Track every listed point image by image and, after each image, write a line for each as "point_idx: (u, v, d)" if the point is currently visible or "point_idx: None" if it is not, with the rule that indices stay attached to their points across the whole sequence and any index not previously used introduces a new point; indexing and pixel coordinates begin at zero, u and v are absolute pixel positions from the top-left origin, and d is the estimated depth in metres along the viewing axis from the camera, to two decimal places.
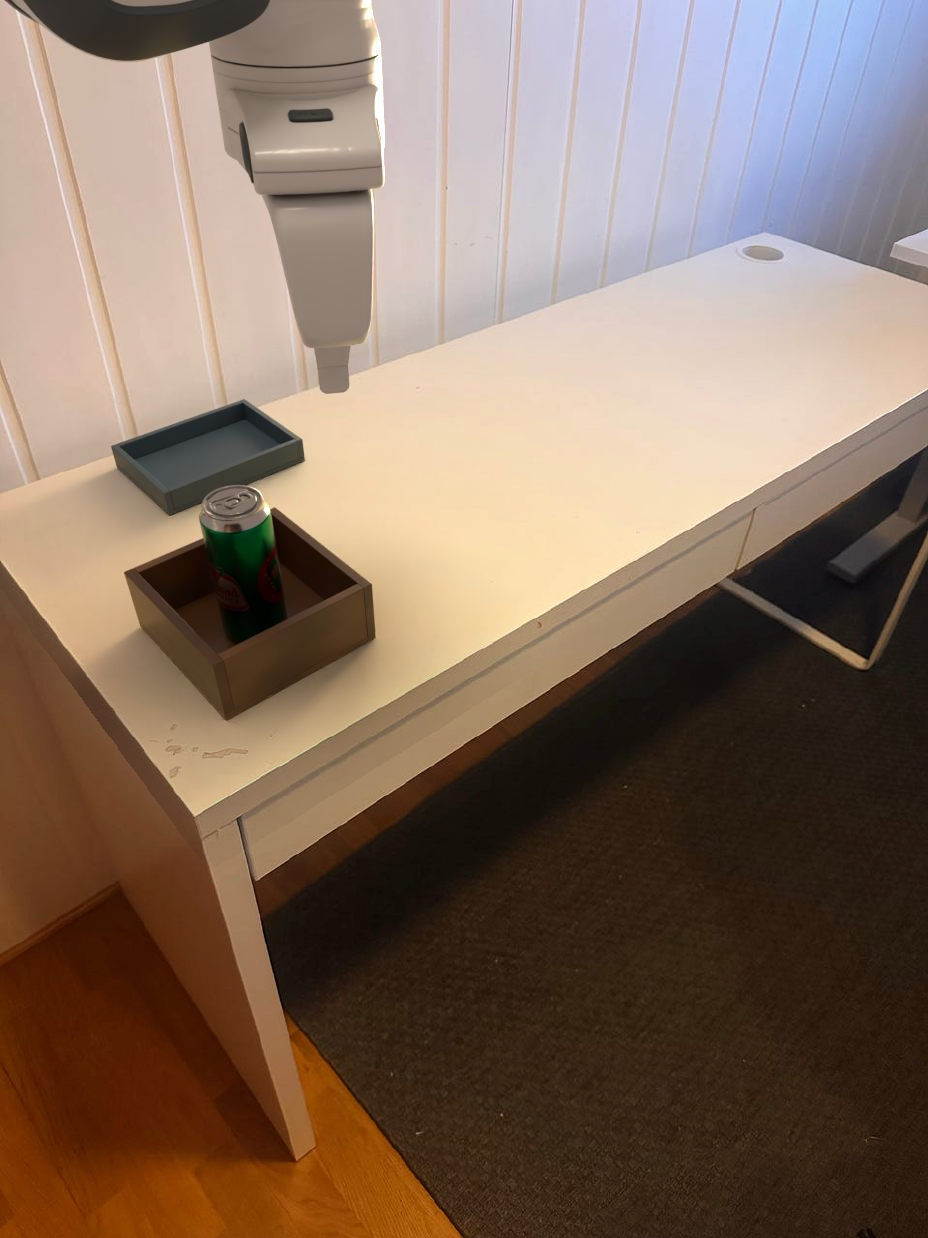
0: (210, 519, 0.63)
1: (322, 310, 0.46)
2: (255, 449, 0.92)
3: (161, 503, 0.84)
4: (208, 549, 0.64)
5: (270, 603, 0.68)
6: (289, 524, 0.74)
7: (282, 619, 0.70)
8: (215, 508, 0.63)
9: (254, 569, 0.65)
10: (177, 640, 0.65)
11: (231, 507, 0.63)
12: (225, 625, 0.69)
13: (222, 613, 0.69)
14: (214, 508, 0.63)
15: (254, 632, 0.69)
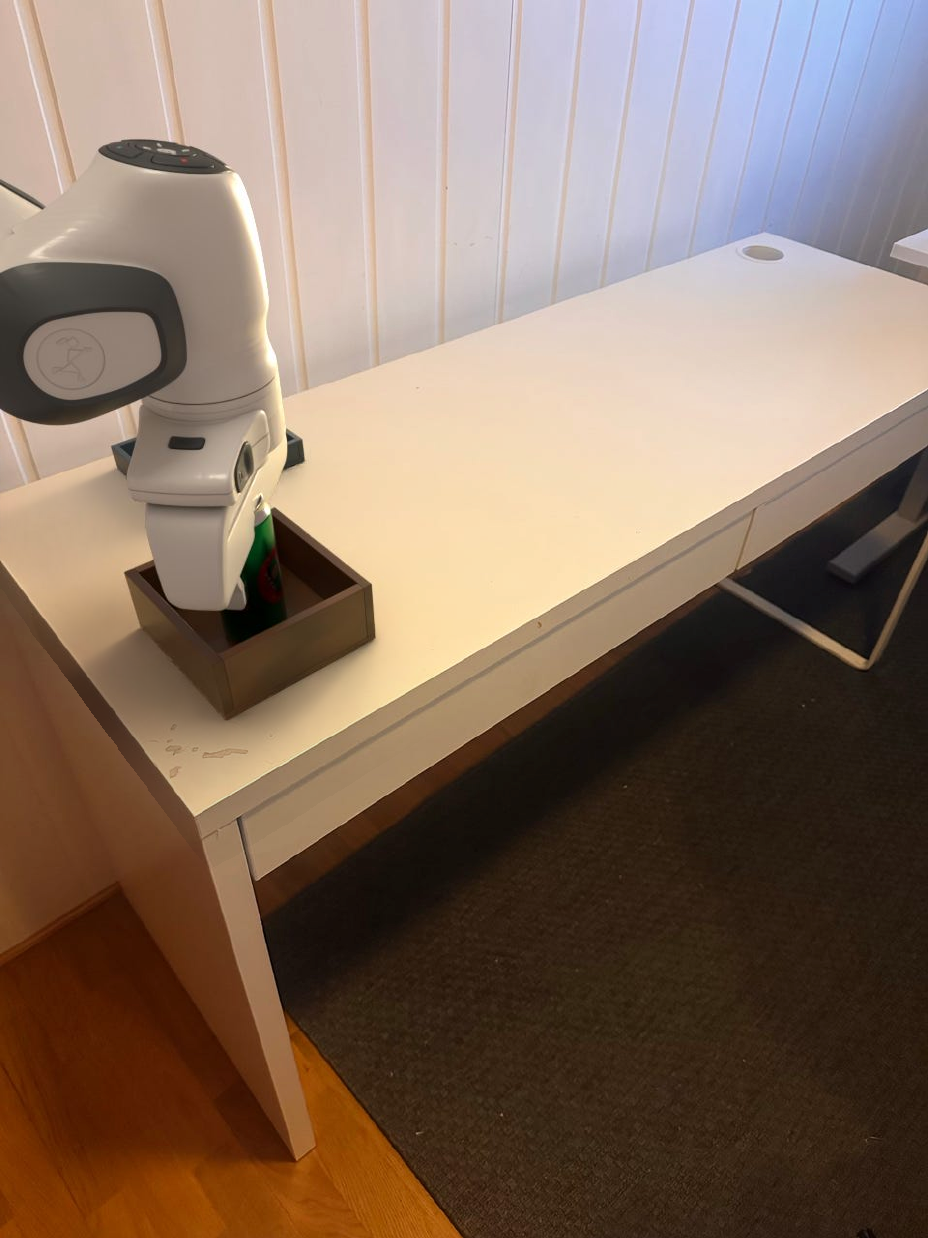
0: None
1: (181, 588, 0.56)
2: None
3: None
4: None
5: (270, 603, 0.68)
6: (289, 524, 0.74)
7: (282, 619, 0.70)
8: None
9: (254, 569, 0.65)
10: (177, 640, 0.65)
11: None
12: (225, 625, 0.69)
13: (222, 613, 0.69)
14: None
15: (254, 632, 0.69)
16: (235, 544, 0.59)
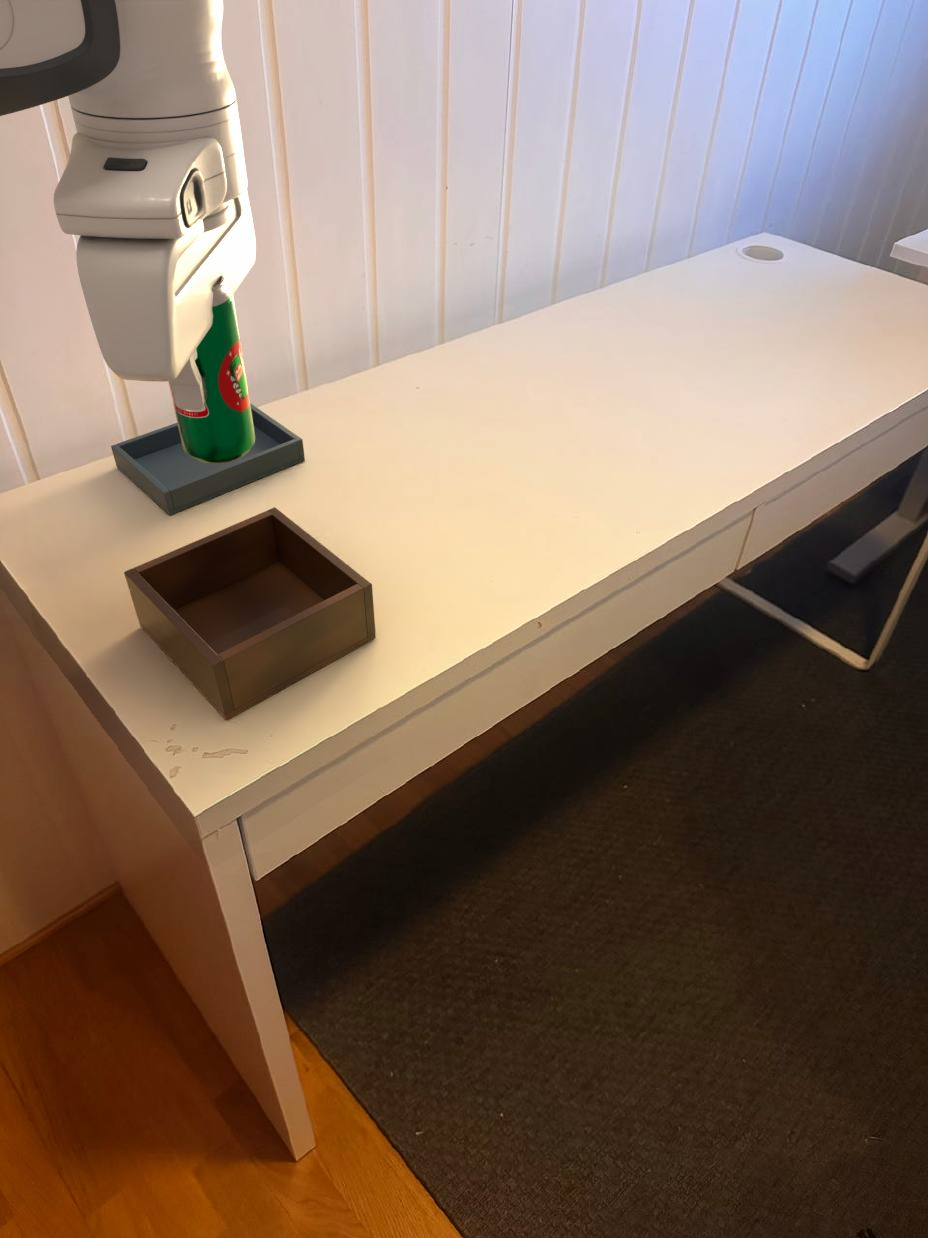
0: None
1: (121, 346, 0.48)
2: (255, 449, 0.92)
3: (161, 503, 0.84)
4: None
5: (234, 411, 0.60)
6: (289, 524, 0.74)
7: (249, 436, 0.62)
8: None
9: (214, 362, 0.57)
10: (177, 640, 0.65)
11: None
12: (184, 440, 0.61)
13: (180, 424, 0.61)
14: None
15: (216, 447, 0.61)
16: (186, 308, 0.51)
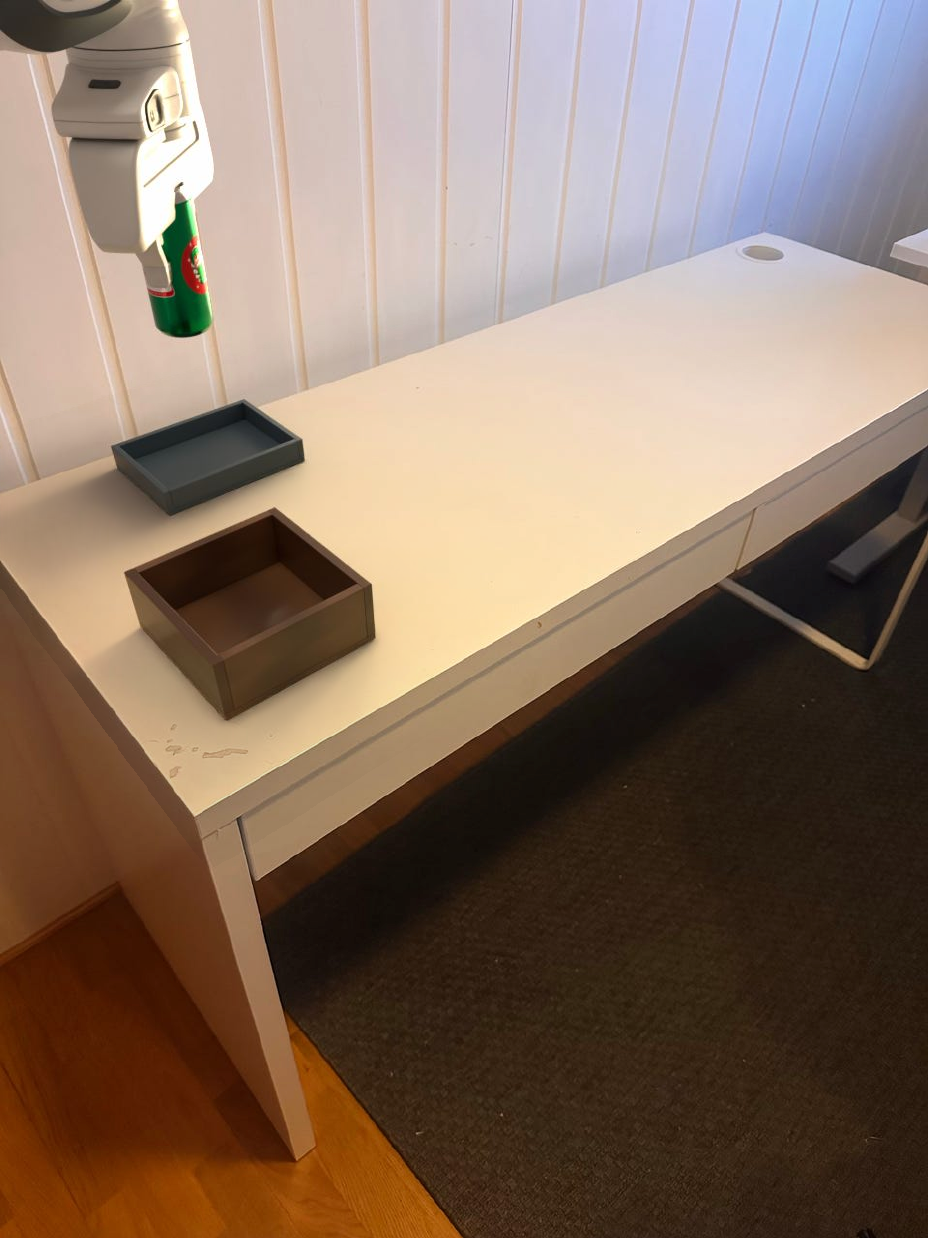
0: None
1: (102, 223, 0.64)
2: (255, 449, 0.92)
3: (161, 503, 0.84)
4: None
5: (195, 292, 0.76)
6: (289, 524, 0.74)
7: (208, 316, 0.78)
8: None
9: (178, 250, 0.73)
10: (177, 640, 0.65)
11: None
12: (156, 318, 0.77)
13: (152, 304, 0.77)
14: None
15: (181, 322, 0.77)
16: (152, 199, 0.67)
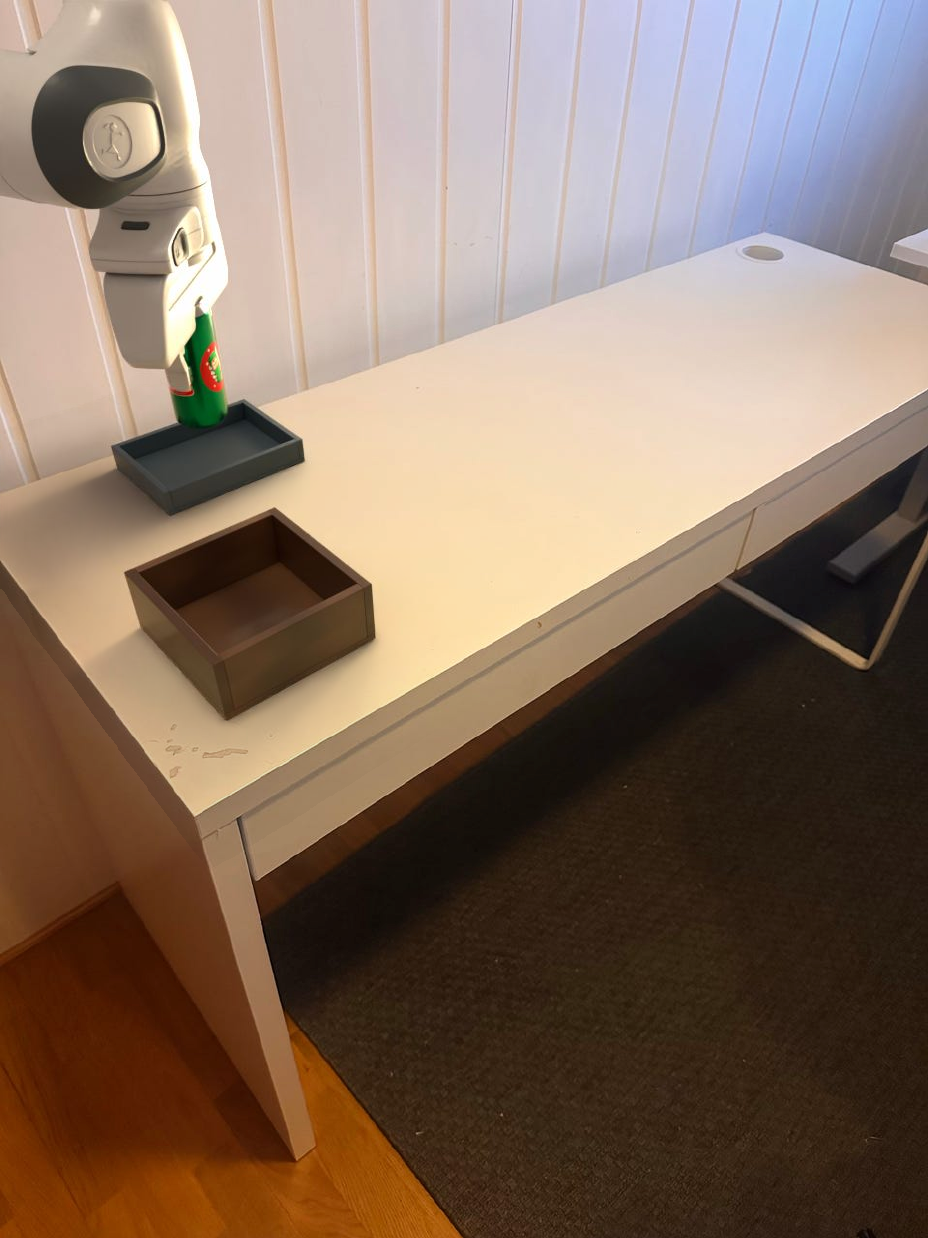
0: None
1: (133, 345, 0.72)
2: (255, 449, 0.92)
3: (161, 503, 0.84)
4: None
5: (212, 391, 0.84)
6: (289, 524, 0.74)
7: (223, 410, 0.86)
8: None
9: (197, 356, 0.81)
10: (177, 640, 0.65)
11: None
12: (176, 412, 0.85)
13: (173, 401, 0.84)
14: None
15: (200, 417, 0.85)
16: (176, 319, 0.75)
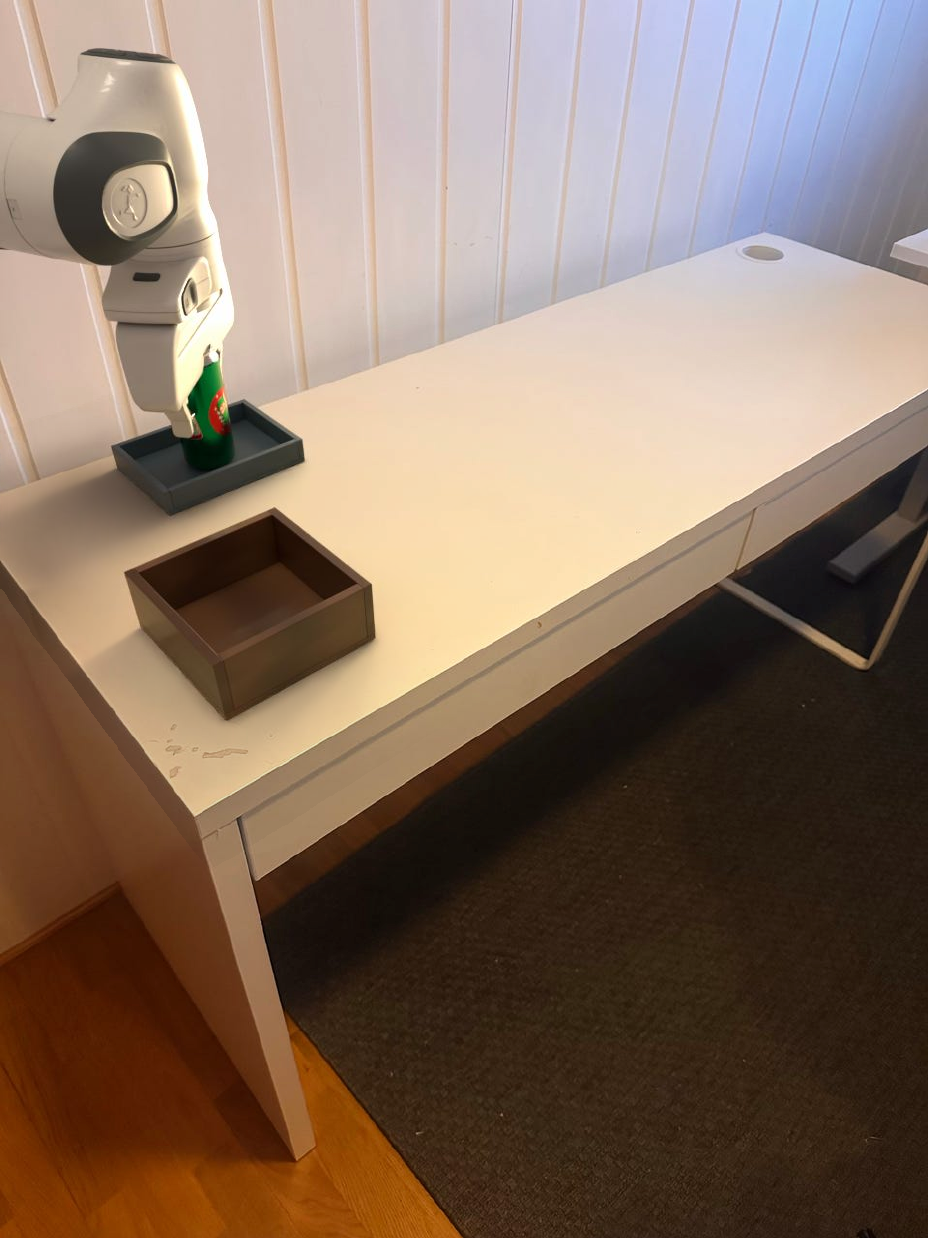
0: None
1: (144, 391, 0.75)
2: (255, 449, 0.92)
3: (161, 503, 0.84)
4: None
5: (220, 434, 0.87)
6: (289, 524, 0.74)
7: (231, 451, 0.89)
8: None
9: (206, 402, 0.84)
10: (177, 640, 0.65)
11: None
12: (185, 454, 0.88)
13: (183, 443, 0.87)
14: None
15: (208, 459, 0.88)
16: (185, 364, 0.77)
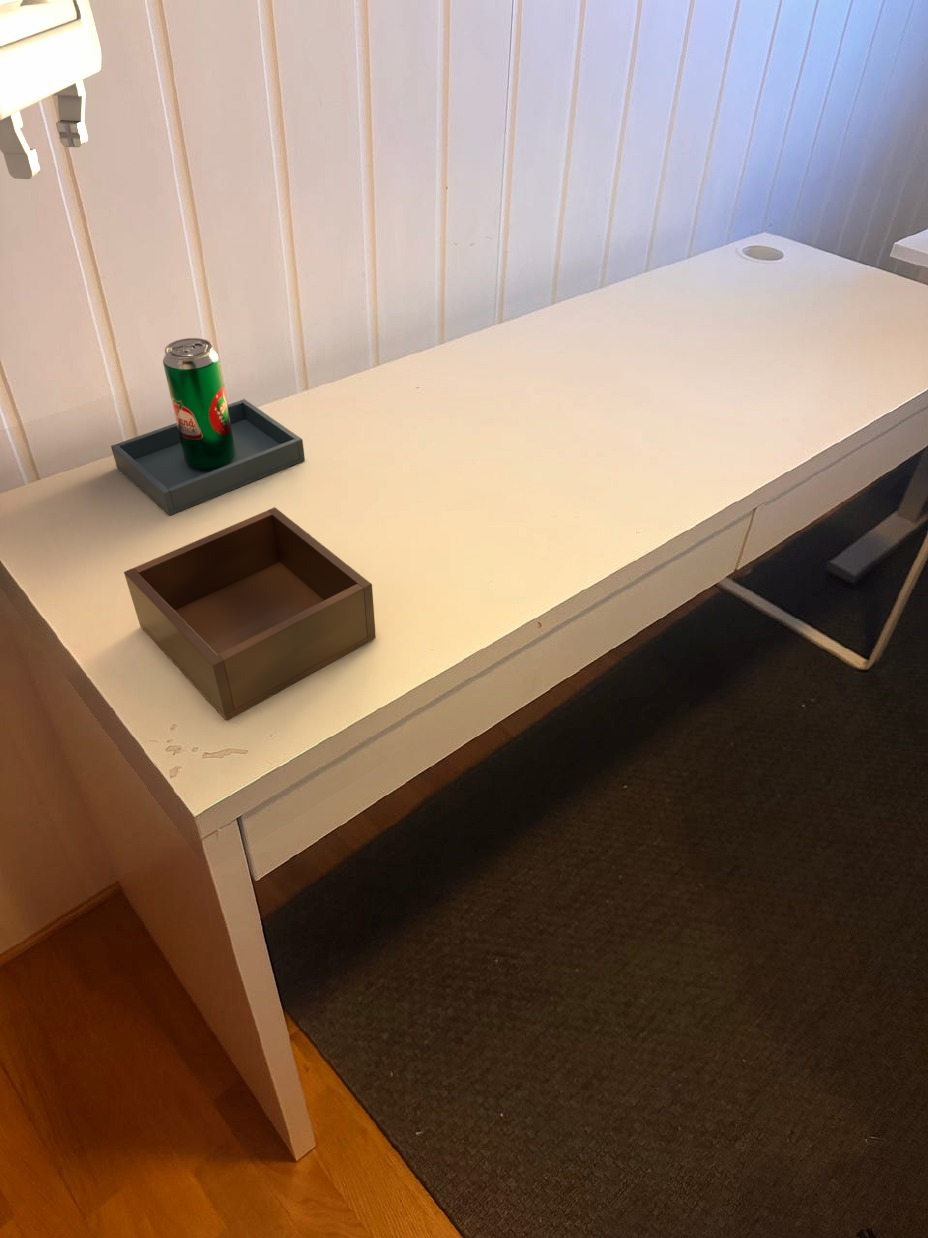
0: (170, 359, 0.82)
1: None
2: (255, 449, 0.92)
3: (161, 503, 0.84)
4: (170, 386, 0.83)
5: (220, 434, 0.87)
6: (289, 524, 0.74)
7: (231, 451, 0.89)
8: (175, 352, 0.82)
9: (206, 402, 0.84)
10: (177, 640, 0.65)
11: (187, 351, 0.82)
12: (185, 454, 0.88)
13: (183, 443, 0.87)
14: (174, 352, 0.82)
15: (208, 459, 0.88)
16: (12, 64, 0.62)
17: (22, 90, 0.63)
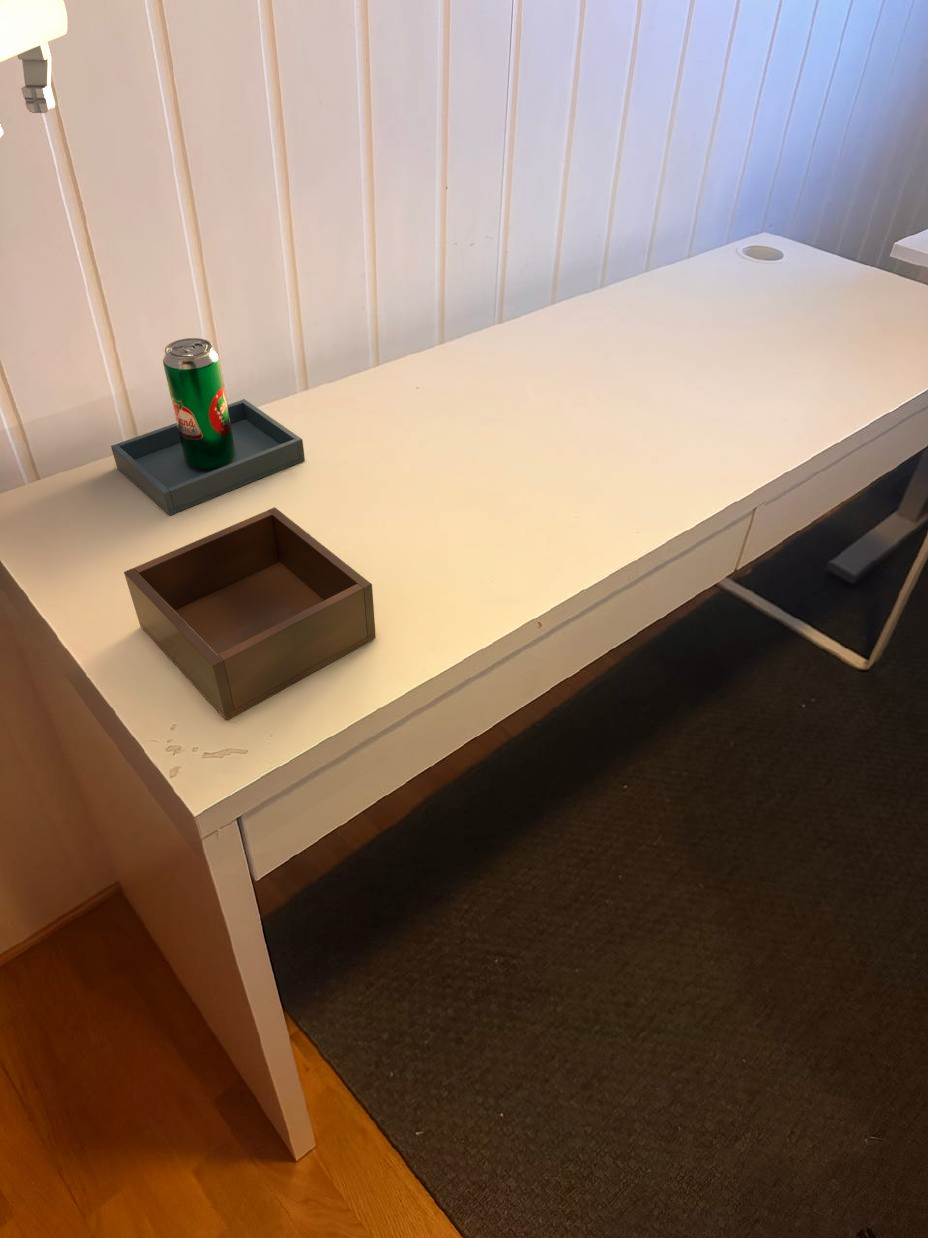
0: (170, 359, 0.82)
1: None
2: (255, 449, 0.92)
3: (161, 503, 0.84)
4: (170, 386, 0.83)
5: (220, 434, 0.87)
6: (289, 524, 0.74)
7: (231, 451, 0.89)
8: (175, 352, 0.82)
9: (206, 402, 0.84)
10: (177, 640, 0.65)
11: (187, 351, 0.82)
12: (185, 454, 0.88)
13: (183, 443, 0.87)
14: (174, 352, 0.82)
15: (208, 459, 0.88)
16: None
17: None
